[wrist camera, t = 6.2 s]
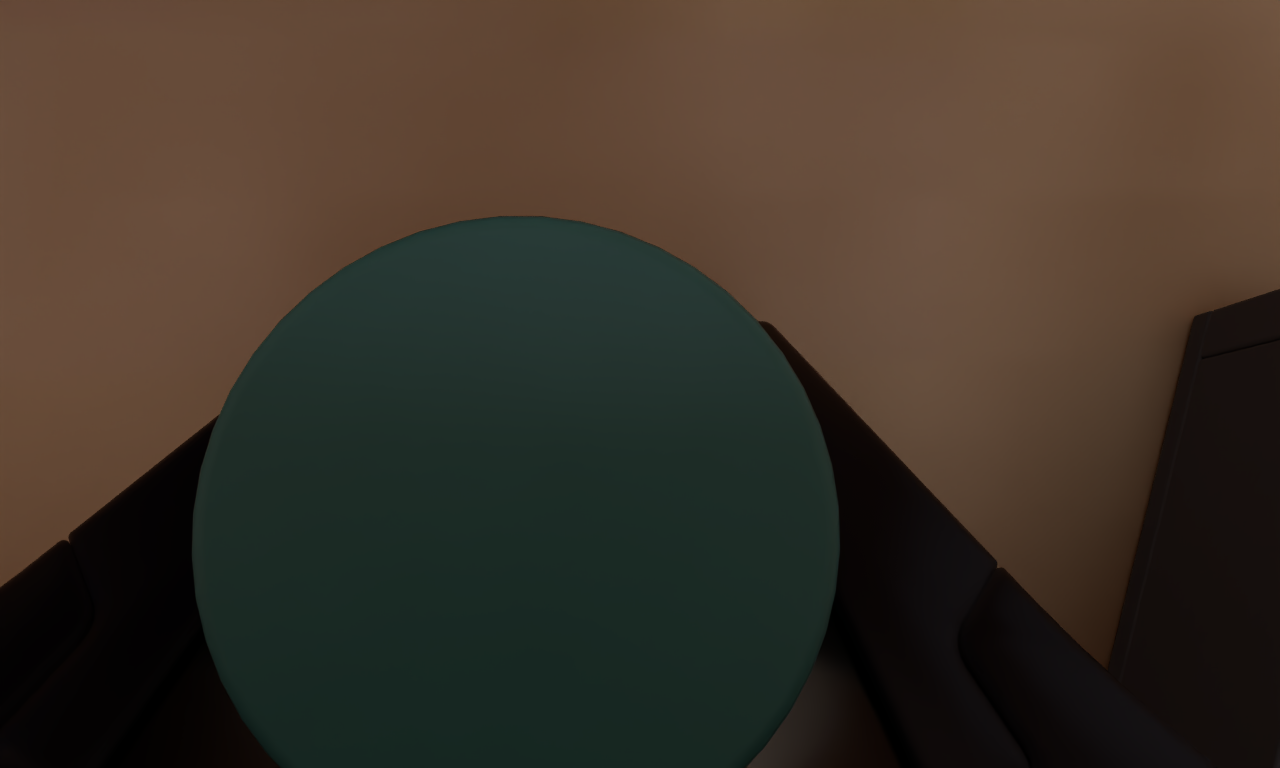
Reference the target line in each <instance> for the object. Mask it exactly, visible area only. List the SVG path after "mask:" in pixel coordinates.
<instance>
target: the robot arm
mask: <svg viewBox="0 0 1280 768" xmlns="http://www.w3.org/2000/svg"><path fill="white" fill-rule="evenodd" d="M758 322H759V324H760V325H761V326H762V327H763V329H764V330H765V331H766V332H767V334H768V335H769V336H770V337H771V339H772V340H773V341H774V343H775V344H776V345H777V346H778V348H779V349H780V350H781V351H782V353H783V354H784V356H785V357H786V359H787V361H788V362H789V364H790V366H791V367H792V369H793V371H794V372H795V374H796V376H797V377H798V379H799V381H800V382H801V384H802V386H803V387H804V389H805V392H806V394H807V396H808V398H809V401H810V403H811V405H812V408H813V410H814V412H815V414H816V417H817V419H818V421H819V424H820V426H821V429H822V433H823V436H824V439H825V443H826V446H827V450H828V453H829V456H830V460H831V463H832V467H833V474H834V480H835V486H836V493H837V499H838V505H839V532H840V554H839V564H838V574H837V584H836V592H835V597H834V601H833V605H832V609H831V614H830V618H829V622H828V627H827V631H826V634H825V637H824V640H823V642H822V645H821V648H820V650H819V653H818V656H817V658H816V661H815V664H814V666H813V669H812V672H811V674H810V676H809V678H808V680H807V681H806V683H805V685H804V687H803V689H802V691H801V693H800V695H799V696H798V698H797V700H796V702H795V704H794V706H793V708H792V710H791V711H790V713H789V714H788V716H787V717H786V718H785V720H784V721H783V723H782V724H781V725H780V727H779V728H778V730H777V731H776V732H775V734H774V735H773V737H772V738H771V739H770V741H769V742H768V744H767V745H766V746H765V747H764V749H763V750H762V751H761V752H760V753H759V754H758V755H757V756H756V757H755V758H754V759H753V760H752V761H751V763H750V764H749V765H748V766H747V767H746V768H1218V767H1217V766H1216V765H1215V764H1213V763H1212V762H1211V761H1210V760H1209V759H1208V758H1206V757H1205V756H1204V755H1203V754H1202V753H1201V752H1199V751H1198V750H1197V749H1196V748H1195V747H1194V746H1193V745H1191V744H1190V743H1189V742H1188V741H1187V740H1186V739H1184V738H1183V737H1182V736H1181V735H1180V734H1179V733H1178V732H1176V731H1175V730H1174V729H1173V728H1172V727H1171V726H1169V725H1168V724H1167V723H1166V722H1165V721H1164V720H1163V719H1161V718H1160V717H1159V716H1158V715H1157V714H1156V713H1154V712H1153V711H1152V710H1151V709H1150V708H1149V707H1147V706H1146V705H1145V704H1144V703H1143V702H1142V701H1141V700H1139V699H1138V698H1137V697H1136V696H1135V695H1134V694H1133V693H1132V692H1131V691H1129V690H1128V689H1127V688H1126V687H1125V686H1124V685H1123V684H1122V683H1121V682H1120V681H1118V680H1117V679H1116V678H1115V677H1114V676H1113V675H1112V674H1111V673H1110V672H1108V671H1107V670H1106V669H1105V668H1104V667H1103V666H1102V665H1101V664H1100V663H1099V662H1097V661H1096V660H1095V659H1094V658H1093V657H1092V656H1091V655H1090V654H1089V653H1087V652H1086V651H1085V650H1084V649H1083V648H1082V647H1081V646H1080V645H1079V644H1078V643H1077V642H1076V641H1075V640H1074V639H1073V638H1072V637H1071V636H1070V635H1069V634H1068V633H1067V632H1066V631H1065V630H1064V629H1063V628H1062V627H1061V626H1060V625H1059V624H1058V623H1057V622H1056V621H1055V620H1054V619H1053V618H1052V617H1051V616H1050V615H1049V614H1048V613H1047V612H1046V611H1045V610H1044V609H1043V608H1042V607H1041V606H1040V605H1039V604H1038V603H1037V602H1036V601H1035V600H1034V599H1033V598H1032V597H1031V596H1030V595H1029V594H1028V593H1027V592H1026V591H1025V590H1024V589H1023V588H1022V587H1021V586H1020V585H1019V583H1018V582H1017V581H1016V580H1015V579H1014V578H1013V577H1012V576H1011V575H1010V574H1009V573H1008V572H1007V571H1006V570H1005V569H1004V568H997V561H996V560H995V559H994V558H993V557H992V556H991V555H990V553H989V552H988V551H987V550H986V549H985V548H984V547H983V546H982V545H981V544H980V543H979V542H978V541H977V540H976V539H975V538H974V537H973V536H972V535H971V533H970V532H969V531H968V530H967V529H966V528H965V527H964V526H963V525H962V524H961V523H960V522H959V521H958V520H957V519H956V518H955V517H954V516H953V514H952V513H951V512H950V511H949V510H948V509H947V508H946V507H945V506H944V505H943V504H942V503H941V502H940V501H939V500H938V499H937V498H936V497H935V496H934V494H933V493H932V492H931V491H930V490H929V489H928V488H927V487H926V486H925V485H924V484H923V483H922V482H921V481H920V480H919V479H918V478H917V477H916V476H915V474H914V473H913V472H912V471H911V470H910V469H909V468H908V467H907V466H906V465H905V464H904V463H903V462H902V461H901V460H900V459H899V458H898V457H897V456H896V454H895V453H894V452H893V451H892V450H891V449H890V448H889V447H888V446H887V445H886V444H885V443H884V442H883V441H882V440H881V439H880V438H879V437H878V436H877V434H876V433H875V432H874V431H873V430H872V429H871V428H870V427H869V426H868V425H867V424H866V423H865V422H864V421H863V420H862V419H861V418H860V417H859V415H858V414H857V413H856V412H855V411H854V410H853V409H852V408H851V407H850V406H849V405H848V404H847V403H846V402H845V401H844V400H843V399H842V398H841V397H840V395H839V394H838V393H837V392H836V391H835V390H834V389H833V388H832V387H831V386H830V385H829V384H828V383H827V382H826V381H825V380H824V379H823V378H822V377H821V375H820V374H819V373H818V372H817V371H816V370H815V369H814V368H813V367H812V366H811V365H810V364H809V363H808V362H807V361H806V360H805V359H804V358H803V357H802V355H801V354H800V353H799V352H798V351H797V350H796V349H795V348H794V347H793V346H792V345H791V344H790V343H789V342H788V341H787V340H786V339H785V338H784V337H783V335H782V334H781V333H780V332H779V331H778V330H777V329H776V328H775V327H774V326H773V325H771V324H770V323H768V322H764V321H758ZM219 415H220V414H219ZM219 415H218V416H217V417H215V418H214V419H213V420H212V421H210V422H209V423H208V424H207V425H205V426H204V427H203V428H202V429H200V430H199V431H198V432H197V433H195V434H194V435H193V436H192V437H190V438H189V439H188V440H187V441H185V442H184V443H183V444H181V445H180V446H179V447H178V448H176V449H175V450H174V451H173V452H171V453H170V454H169V455H168V456H166V457H165V458H164V459H163V460H161V461H160V462H159V463H158V464H156V465H155V466H154V467H153V468H151V469H150V470H149V471H148V472H146V473H145V474H144V475H143V476H141V477H140V478H139V479H138V480H136V481H135V482H134V483H132V484H131V485H130V486H129V487H127V488H126V489H125V490H124V491H122V492H121V493H120V494H119V495H117V496H116V497H115V498H114V499H112V500H111V501H110V502H109V503H107V504H106V505H105V506H104V507H102V508H101V509H100V510H99V511H97V512H96V513H95V514H94V515H92V516H91V517H90V518H89V519H87V520H86V521H85V522H84V523H82V524H81V525H80V526H78V527H77V528H76V529H75V530H73V531H72V532H71V533H70V534H69V537H68V538H69V542H70V543H69V542H68V541H66V540H62V541H59V542H58V543H57V544H55V545H54V546H53V547H52V548H50V549H49V550H48V551H46V552H45V553H44V554H43V555H41V556H40V557H39V558H38V559H36V560H35V561H34V562H33V563H31V564H30V565H29V566H28V567H26V568H25V569H24V570H23V571H21V572H20V573H19V574H17V575H16V576H15V577H13V578H12V579H11V580H9V581H8V582H7V583H5V584H4V585H3V586H2V587H0V768H280V767H279V766H278V765H277V764H276V763H275V762H274V761H273V760H272V759H271V758H270V757H269V756H268V755H267V753H266V752H265V750H264V749H263V748H262V746H261V745H260V744H259V742H258V741H257V740H256V738H255V737H254V735H253V734H252V733H251V731H250V730H249V729H248V727H247V726H246V725H245V723H244V722H243V720H242V719H241V717H240V715H239V713H238V712H237V710H236V708H235V706H234V704H233V702H232V701H231V699H230V697H229V695H228V693H227V691H226V690H225V688H224V686H223V684H222V682H221V680H220V677H219V675H218V672H217V669H216V667H215V664H214V662H213V659H212V656H211V654H210V651H209V648H208V646H207V643H206V640H205V636H204V632H203V627H202V623H201V619H200V615H199V610H198V606H197V602H196V596H195V585H194V575H193V564H192V532H193V511H194V505H195V499H196V493H197V487H198V481H199V475H200V470H201V466H202V463H203V460H204V457H205V453H206V450H207V447H208V444H209V440H210V437H211V434H212V431H213V428H214V426H215V423H216V421H217V419H218V417H219Z"/></svg>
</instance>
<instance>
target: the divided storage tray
mask: <svg viewBox="0 0 1280 768" xmlns="http://www.w3.org/2000/svg"><path fill="white" fill-rule="evenodd" d="M1108 672H1110V673H1111V674H1112V675H1113V676H1114V677H1115V678H1116V679H1117V680H1118V681H1120V682H1121V683H1122V684H1123V685H1124V686H1125V687H1126V688H1127V689H1128V690H1129V691H1131V692H1132V693H1133V694H1134V695H1135V696H1136V697H1137V698H1138V699H1139V700H1141V701H1142V702H1143V703H1144V704H1145V705H1146V706H1147V707H1149V708H1150V709H1151V710H1152V711H1153V712H1154V713H1156V714H1157V715H1158V716H1159V717H1160V718H1161V719H1163V720H1164V721H1165V722H1166V723H1167V724H1168V725H1169V726H1171V727H1172V728H1173V729H1174V730H1175V731H1176V732H1178V733H1179V734H1180V735H1181V736H1182V737H1183V738H1184V739H1186V740H1187V741H1188V742H1189V743H1190V744H1191V745H1193V746H1194V747H1195V748H1196V749H1197V750H1198V751H1199V752H1201V753H1202V754H1203V755H1204V756H1205V757H1206V758H1208V759H1209V760H1210V761H1211V762H1212V763H1213V764H1215V765H1216V766H1217V767H1218V768H1280V289H1278V290H1275V291H1272V292H1269V293H1266V294H1263V295H1260V296H1257V297H1254V298H1250V299H1247V300H1244V301H1241V302H1238V303H1235V304H1232V305H1229V306H1226V307H1222V308H1219V309H1216V310H1214V311H1209V312H1206V313H1203V314H1199V315H1196V316H1195V318H1194V320H1193V325H1192V329H1191V333H1190V337H1189V341H1188V345H1187V349H1186V353H1185V357H1184V361H1183V365H1182V369H1181V374H1180V378H1179V382H1178V386H1177V390H1176V394H1175V398H1174V402H1173V406H1172V410H1171V414H1170V418H1169V423H1168V427H1167V431H1166V435H1165V439H1164V443H1163V447H1162V451H1161V455H1160V459H1159V463H1158V467H1157V472H1156V476H1155V480H1154V484H1153V488H1152V492H1151V496H1150V500H1149V504H1148V508H1147V512H1146V516H1145V521H1144V525H1143V529H1142V533H1141V537H1140V541H1139V545H1138V549H1137V553H1136V557H1135V561H1134V565H1133V570H1132V574H1131V578H1130V582H1129V586H1128V590H1127V594H1126V598H1125V602H1124V606H1123V610H1122V614H1121V619H1120V623H1119V627H1118V631H1117V635H1116V639H1115V643H1114V647H1113V651H1112V655H1111V659H1110V663H1109V668H1108Z"/></svg>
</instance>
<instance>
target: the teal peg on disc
mask: <svg viewBox="0 0 1280 768" xmlns="http://www.w3.org/2000/svg"><path fill="white" fill-rule="evenodd" d="M839 554H840V532H839V505H838V499H837V493H836V486H835V480H834V474H833V467H832V463H831V460H830V456H829V453H828V450H827V446H826V443H825V439H824V436H823V433H822V429H821V426H820V424H819V421H818V419H817V417H816V414H815V412H814V410H813V408H812V405H811V403H810V401H809V398H808V396H807V394H806V392H805V389H804V387H803V386H802V384H801V382H800V381H799V379H798V377H797V376H796V374H795V372H794V371H793V369H792V367H791V366H790V364H789V362H788V361H787V359H786V357H785V356H784V354H783V353H782V351H781V350H780V349H779V348H778V346H777V345H776V344H775V343H774V341H773V340H772V339H771V337H770V336H769V335H768V334H767V332H766V331H765V330H764V329H763V327H762V326H761V325H760V324H759V322H758V321H757V320H756V319H755V318H754V317H753V316H752V315H751V314H750V313H749V312H748V311H747V310H746V309H745V308H744V307H743V306H742V305H741V304H740V303H738V302H737V301H736V300H735V299H734V298H733V297H732V296H731V295H730V294H729V293H728V292H727V291H726V290H724V289H723V288H722V287H720V286H719V285H718V284H716V283H715V282H714V281H712V280H711V279H710V278H708V277H707V276H706V275H704V274H703V273H702V272H700V271H699V270H698V269H696V268H695V267H693V266H691V265H690V264H688V263H686V262H684V261H683V260H681V259H679V258H677V257H675V256H674V255H672V254H670V253H668V252H667V251H665V250H663V249H661V248H660V247H657V246H655V245H652V244H650V243H647V242H645V241H642V240H640V239H637V238H635V237H632V236H630V235H628V234H625V233H623V232H619V231H616V230H612V229H608V228H604V227H600V226H597V225H593V224H589V223H585V222H581V221H573V220H566V219H558V218H550V217H543V216H498V217H490V218H482V219H474V220H466V221H459V222H455V223H451V224H447V225H443V226H439V227H436V228H432V229H428V230H424V231H420V232H417V233H415V234H412V235H410V236H407V237H405V238H402V239H400V240H397V241H395V242H392V243H390V244H387V245H385V246H382V247H380V248H378V249H376V250H375V251H373V252H371V253H369V254H367V255H366V256H364V257H362V258H360V259H358V260H356V261H355V262H353V263H351V264H349V265H347V266H346V267H344V268H343V269H341V270H340V271H338V272H337V273H336V274H334V275H333V276H332V277H330V278H329V279H328V280H326V281H325V282H323V283H322V284H321V285H319V286H318V287H317V288H315V289H314V290H313V291H311V292H310V293H309V294H308V295H307V296H306V297H305V298H304V299H303V300H302V301H300V302H299V303H298V304H297V305H296V306H295V307H294V308H293V309H292V310H291V311H290V312H289V313H288V314H287V315H286V316H285V317H284V318H283V319H282V320H280V322H279V323H278V324H277V325H276V326H275V328H274V329H273V330H272V331H271V333H270V334H269V335H268V336H267V338H266V339H265V340H264V341H263V342H262V344H261V345H260V346H259V347H258V349H257V350H256V351H255V352H254V353H253V355H252V357H251V358H250V360H249V361H248V363H247V365H246V366H245V368H244V369H243V371H242V373H241V374H240V376H239V377H238V379H237V381H236V382H235V384H234V386H233V387H232V389H231V390H230V393H229V395H228V397H227V399H226V401H225V404H224V406H223V408H222V410H221V412H220V415H219V417H218V419H217V421H216V423H215V426H214V428H213V431H212V434H211V437H210V440H209V444H208V447H207V450H206V453H205V457H204V460H203V463H202V466H201V470H200V475H199V481H198V487H197V493H196V499H195V505H194V511H193V532H192V564H193V575H194V585H195V596H196V602H197V606H198V610H199V615H200V619H201V623H202V627H203V632H204V636H205V640H206V643H207V646H208V648H209V651H210V654H211V656H212V659H213V662H214V664H215V667H216V669H217V672H218V675H219V677H220V680H221V682H222V684H223V686H224V688H225V690H226V691H227V693H228V695H229V697H230V699H231V701H232V702H233V704H234V706H235V708H236V710H237V712H238V713H239V715H240V717H241V719H242V720H243V722H244V723H245V725H246V726H247V727H248V729H249V730H250V731H251V733H252V734H253V735H254V737H255V738H256V740H257V741H258V742H259V744H260V745H261V746H262V748H263V749H264V750H265V752H266V753H267V755H268V756H269V757H270V758H271V759H272V760H273V761H274V762H275V763H276V764H277V765H278V766H279V767H280V768H746V767H747V766H748V765H749V764H750V763H751V761H752V760H753V759H754V758H755V757H756V756H757V755H758V754H759V753H760V752H761V751H762V750H763V749H764V747H765V746H766V745H767V744H768V742H769V741H770V739H771V738H772V737H773V735H774V734H775V732H776V731H777V730H778V728H779V727H780V725H781V724H782V723H783V721H784V720H785V718H786V717H787V716H788V714H789V713H790V711H791V710H792V708H793V706H794V704H795V702H796V700H797V698H798V696H799V695H800V693H801V691H802V689H803V687H804V685H805V683H806V681H807V680H808V678H809V676H810V674H811V672H812V669H813V666H814V664H815V661H816V658H817V656H818V653H819V650H820V648H821V645H822V642H823V640H824V637H825V634H826V631H827V627H828V622H829V618H830V614H831V609H832V605H833V601H834V597H835V592H836V584H837V574H838V564H839Z"/></svg>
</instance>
